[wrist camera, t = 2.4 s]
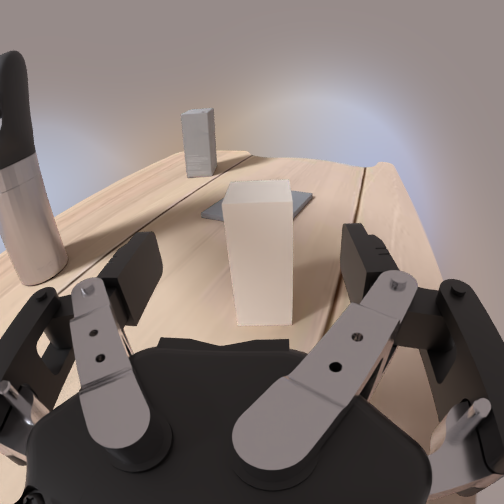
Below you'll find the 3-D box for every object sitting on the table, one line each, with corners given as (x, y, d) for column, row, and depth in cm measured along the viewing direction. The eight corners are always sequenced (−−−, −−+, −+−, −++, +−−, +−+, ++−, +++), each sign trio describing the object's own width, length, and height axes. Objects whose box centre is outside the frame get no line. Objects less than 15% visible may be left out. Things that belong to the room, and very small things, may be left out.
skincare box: (193, 169, 76) (186, 110, 68) (220, 166, 75) (214, 106, 67) (185, 179, 69) (176, 113, 60) (215, 176, 68) (208, 109, 60)
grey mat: (201, 217, 49) (200, 212, 48) (244, 188, 59) (243, 185, 59) (281, 231, 43) (280, 226, 42) (312, 197, 53) (312, 193, 52)
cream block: (237, 325, 28) (221, 204, 21) (242, 291, 32) (230, 181, 26) (291, 324, 27) (292, 201, 21) (290, 290, 31) (288, 179, 25)
